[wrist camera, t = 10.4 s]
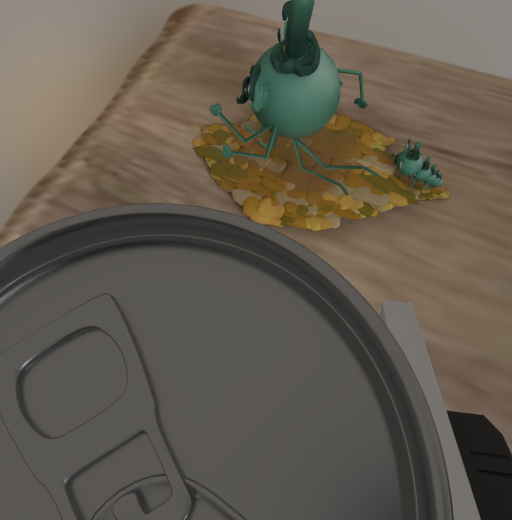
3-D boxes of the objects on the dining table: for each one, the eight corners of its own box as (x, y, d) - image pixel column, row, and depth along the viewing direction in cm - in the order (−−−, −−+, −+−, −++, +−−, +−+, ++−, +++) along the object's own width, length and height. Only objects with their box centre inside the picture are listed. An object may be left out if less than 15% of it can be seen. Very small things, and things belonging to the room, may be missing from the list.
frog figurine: (416, 294, 28) (472, 127, 15) (170, 204, 34) (55, 30, 21) (466, 168, 31) (549, -65, 18) (231, 106, 37) (164, -100, 24)
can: (218, 643, 13) (-205, 1509, 2) (122, 437, 16) (-303, 376, 5) (401, 507, 14) (732, 659, 3) (282, 332, 17) (237, 78, 6)
